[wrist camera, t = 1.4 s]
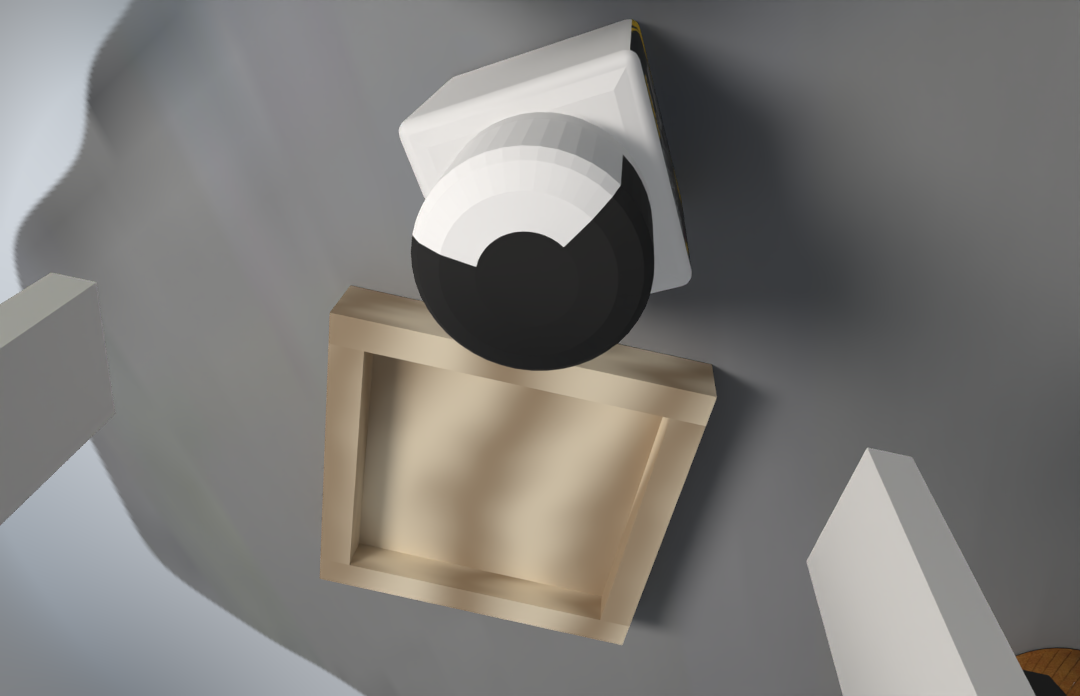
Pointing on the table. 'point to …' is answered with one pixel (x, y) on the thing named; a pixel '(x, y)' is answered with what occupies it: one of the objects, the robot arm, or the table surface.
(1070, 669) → the disposable coffee cup
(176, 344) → the table surface
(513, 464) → the tray
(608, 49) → the medicine bottle
